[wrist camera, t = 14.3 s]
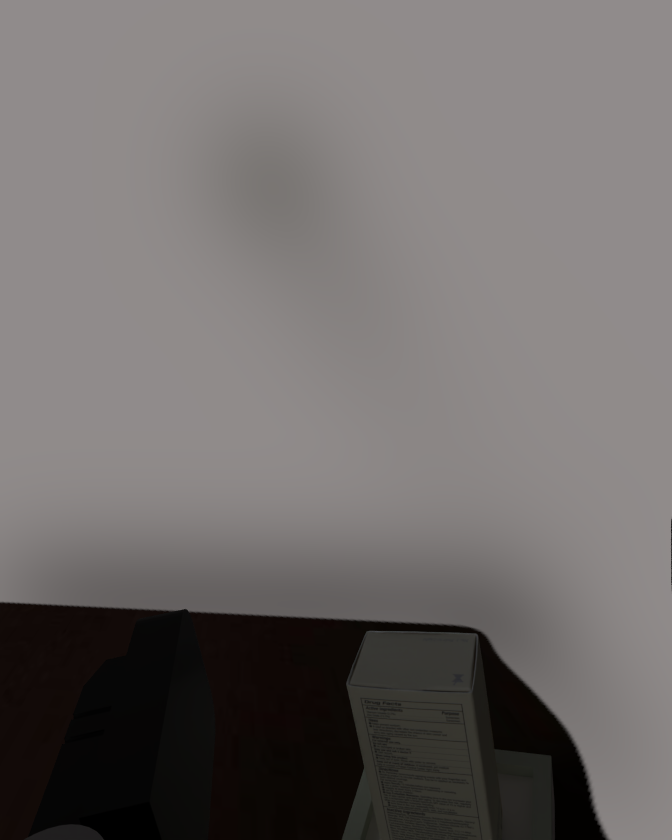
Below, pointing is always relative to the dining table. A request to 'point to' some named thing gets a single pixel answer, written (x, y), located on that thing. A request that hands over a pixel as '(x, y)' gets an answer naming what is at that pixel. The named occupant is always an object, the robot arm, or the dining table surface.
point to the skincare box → (426, 736)
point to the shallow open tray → (519, 790)
